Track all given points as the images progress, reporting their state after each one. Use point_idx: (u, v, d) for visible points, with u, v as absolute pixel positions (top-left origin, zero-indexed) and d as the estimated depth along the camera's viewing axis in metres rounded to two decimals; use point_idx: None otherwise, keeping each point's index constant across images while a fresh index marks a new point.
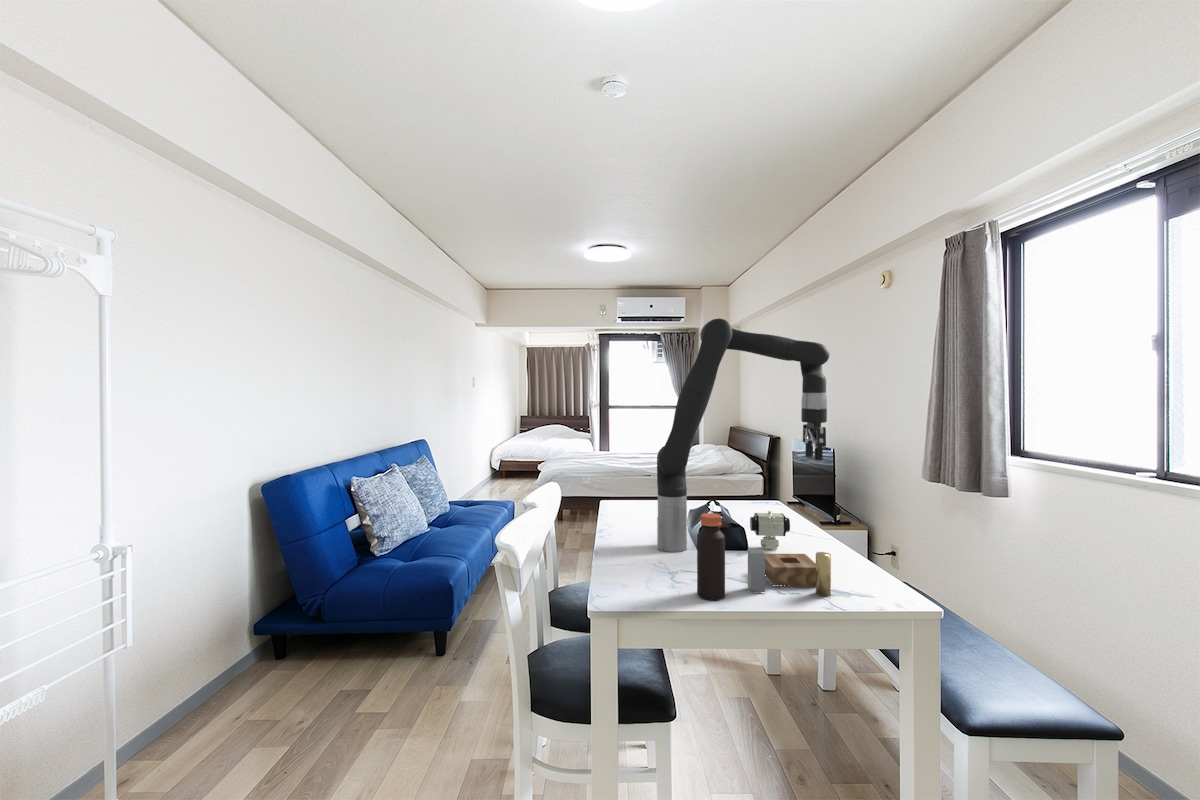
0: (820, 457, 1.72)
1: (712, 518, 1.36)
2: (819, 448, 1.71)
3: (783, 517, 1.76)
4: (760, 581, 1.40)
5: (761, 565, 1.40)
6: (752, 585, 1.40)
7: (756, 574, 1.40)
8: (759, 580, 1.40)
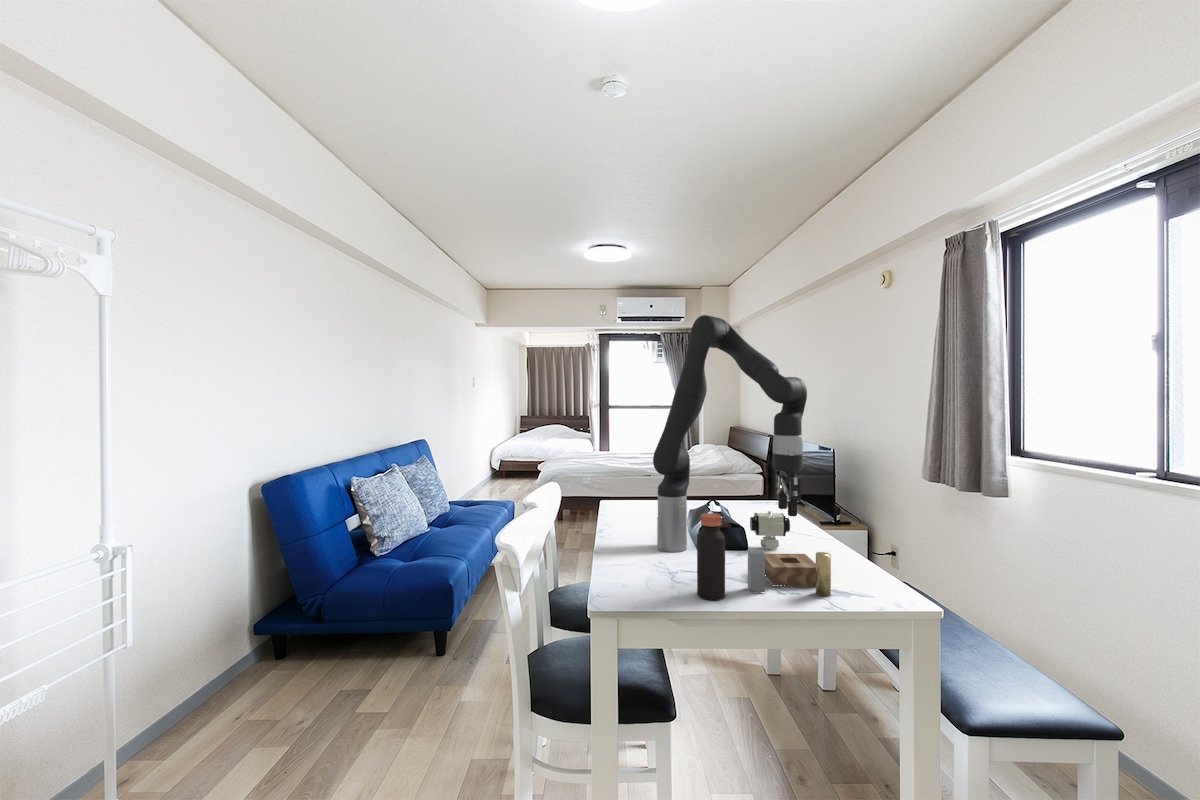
0: (794, 513, 1.44)
1: (712, 518, 1.36)
2: (793, 502, 1.44)
3: (783, 517, 1.76)
4: (760, 581, 1.40)
5: (761, 565, 1.40)
6: (752, 585, 1.40)
7: (756, 574, 1.40)
8: (759, 580, 1.40)
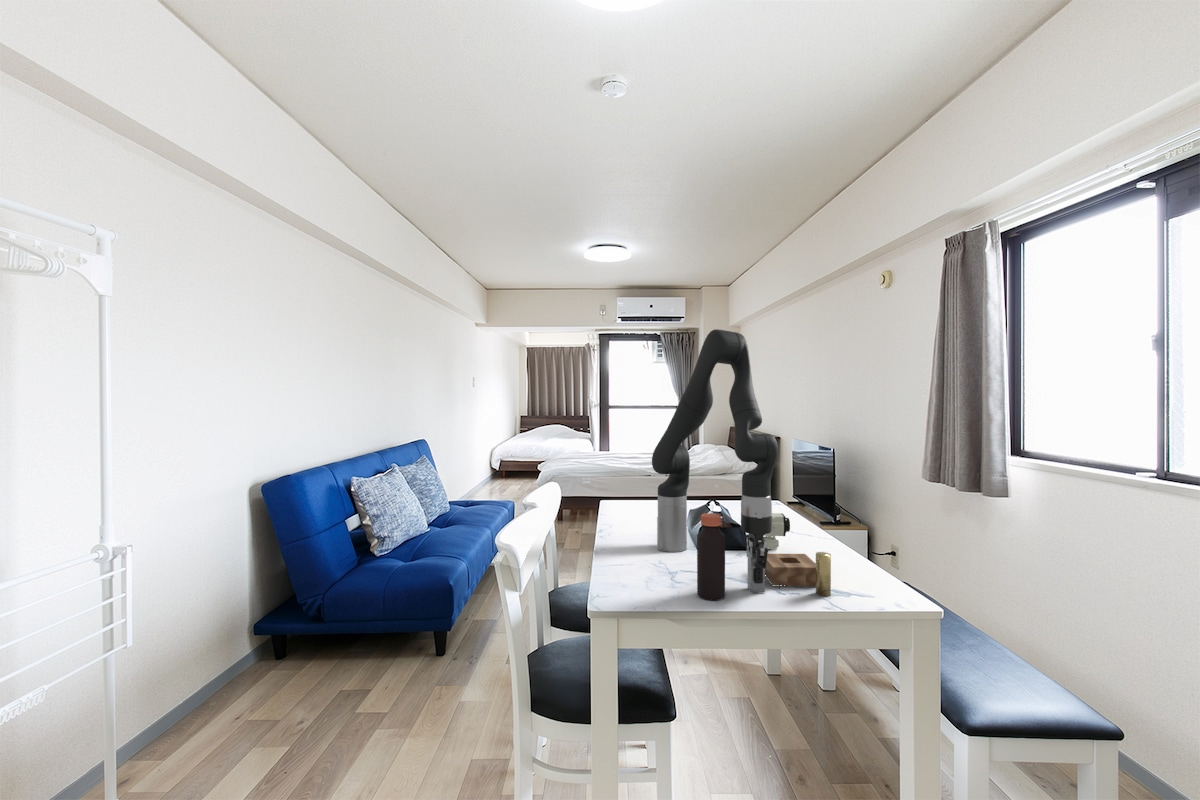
0: (760, 580, 1.39)
1: (712, 518, 1.36)
2: (758, 569, 1.39)
3: (783, 517, 1.76)
4: None
5: None
6: (752, 585, 1.40)
7: None
8: None
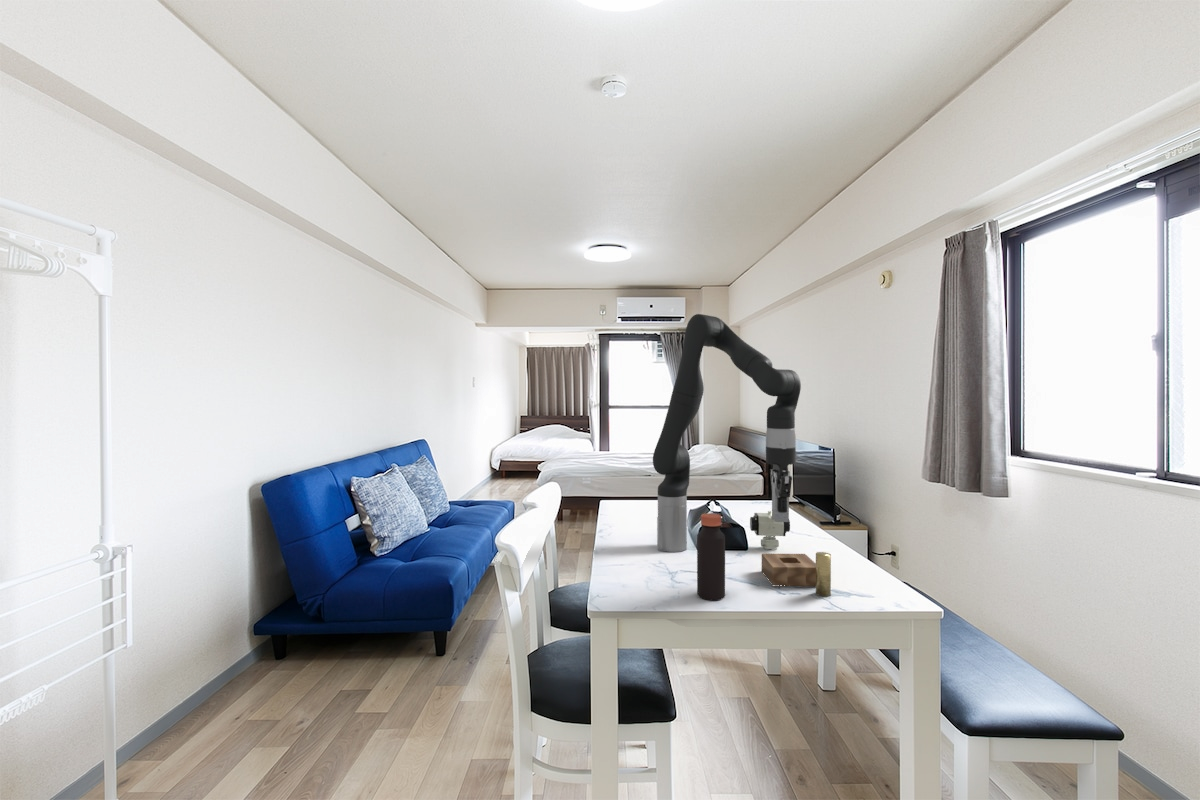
0: (784, 509, 1.44)
1: (712, 518, 1.36)
2: (782, 498, 1.44)
3: None
4: None
5: None
6: (776, 514, 1.46)
7: None
8: None
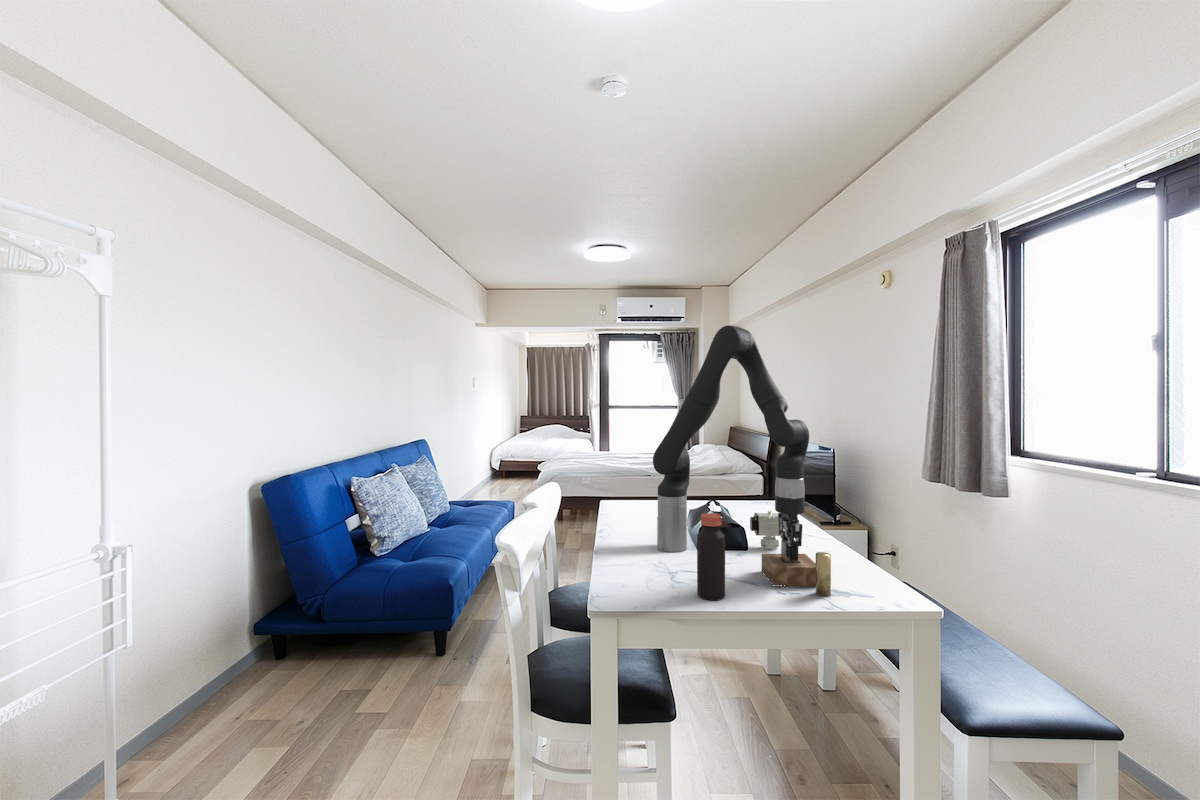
0: (795, 557, 1.46)
1: (712, 518, 1.36)
2: (794, 547, 1.46)
3: None
4: None
5: None
6: None
7: None
8: None
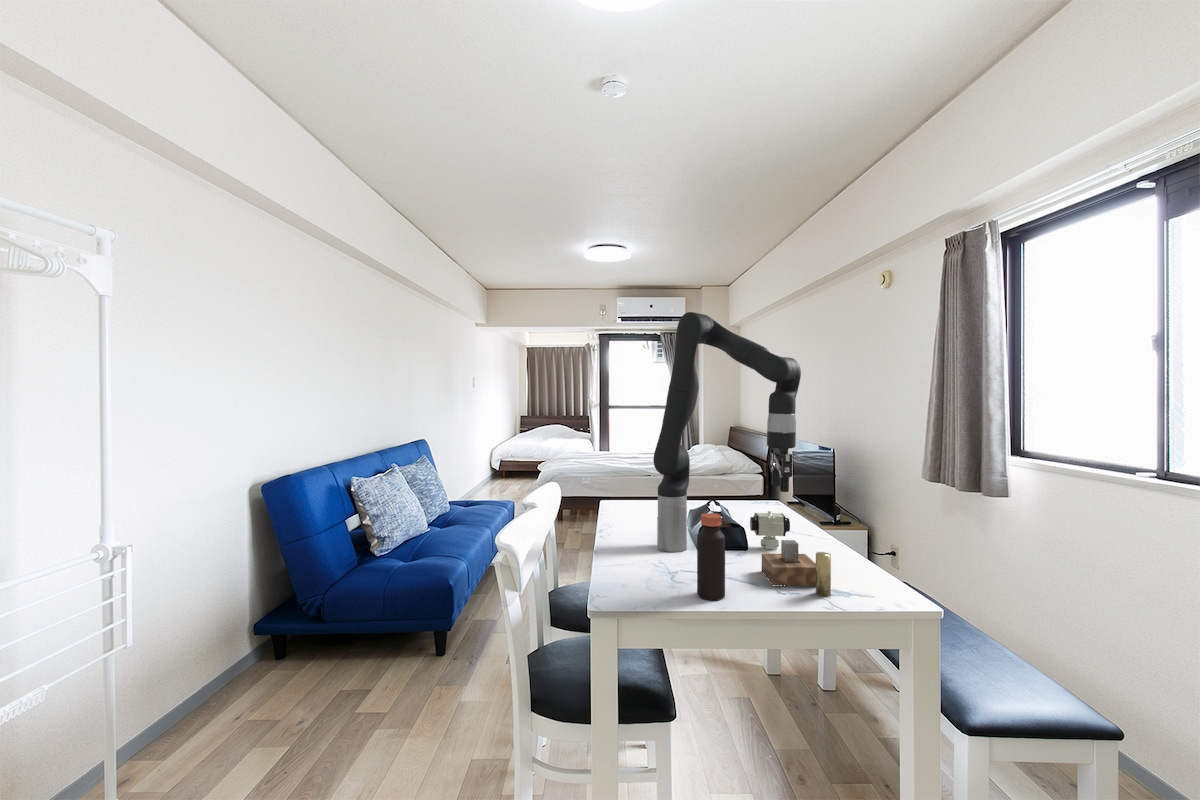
0: (786, 488, 1.49)
1: (712, 518, 1.36)
2: (785, 478, 1.48)
3: (783, 517, 1.76)
4: None
5: (795, 555, 1.48)
6: None
7: None
8: None
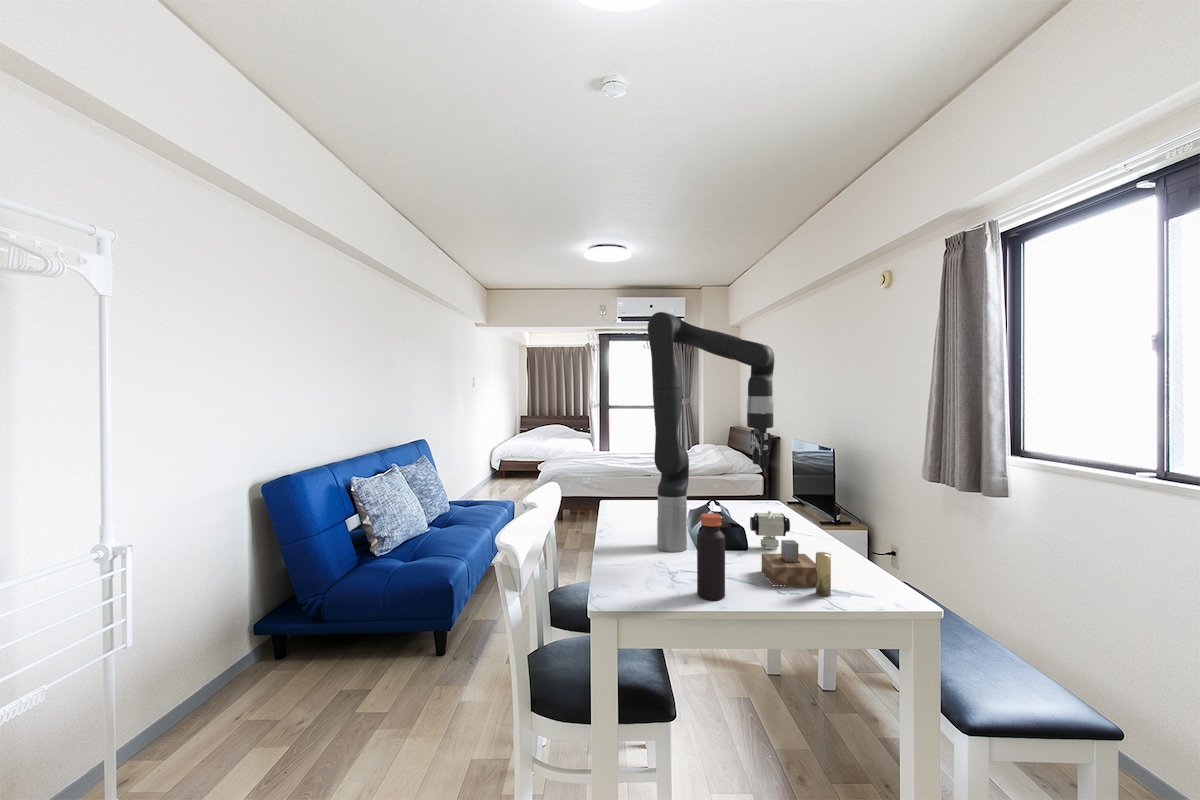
0: (765, 465, 1.61)
1: (712, 518, 1.36)
2: (764, 455, 1.60)
3: (783, 517, 1.76)
4: None
5: (795, 555, 1.48)
6: None
7: None
8: None
